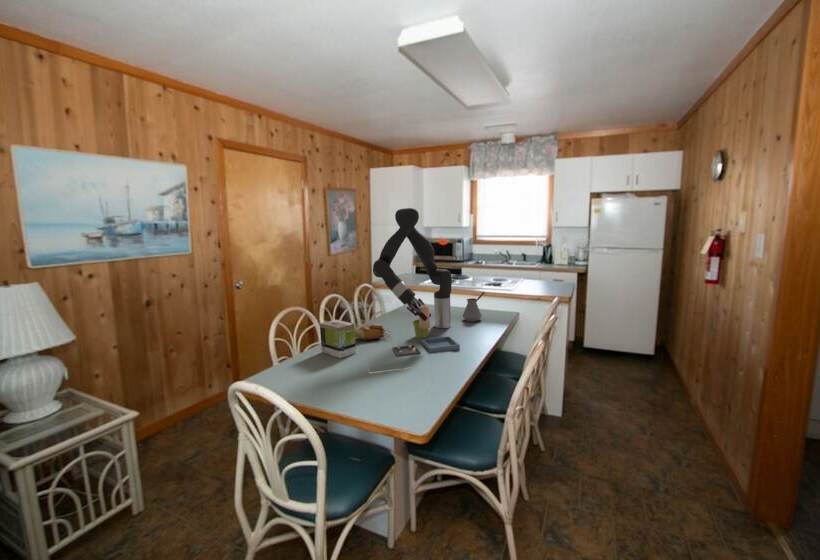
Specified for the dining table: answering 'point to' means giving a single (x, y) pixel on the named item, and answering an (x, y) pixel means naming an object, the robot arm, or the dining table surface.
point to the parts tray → (406, 350)
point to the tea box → (338, 338)
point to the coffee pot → (472, 310)
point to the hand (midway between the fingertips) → (428, 318)
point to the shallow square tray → (440, 344)
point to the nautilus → (370, 332)
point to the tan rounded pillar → (426, 312)
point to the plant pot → (419, 330)
